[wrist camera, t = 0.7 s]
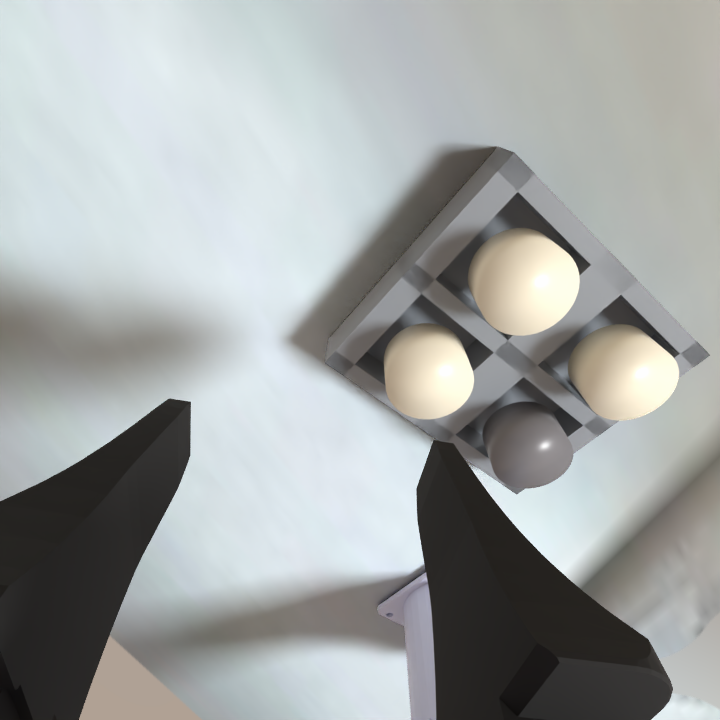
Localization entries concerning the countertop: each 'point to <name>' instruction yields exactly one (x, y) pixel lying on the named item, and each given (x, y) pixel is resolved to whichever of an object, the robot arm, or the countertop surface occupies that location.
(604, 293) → the button board
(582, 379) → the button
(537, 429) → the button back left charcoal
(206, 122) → the countertop surface
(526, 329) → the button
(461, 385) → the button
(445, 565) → the robot arm
